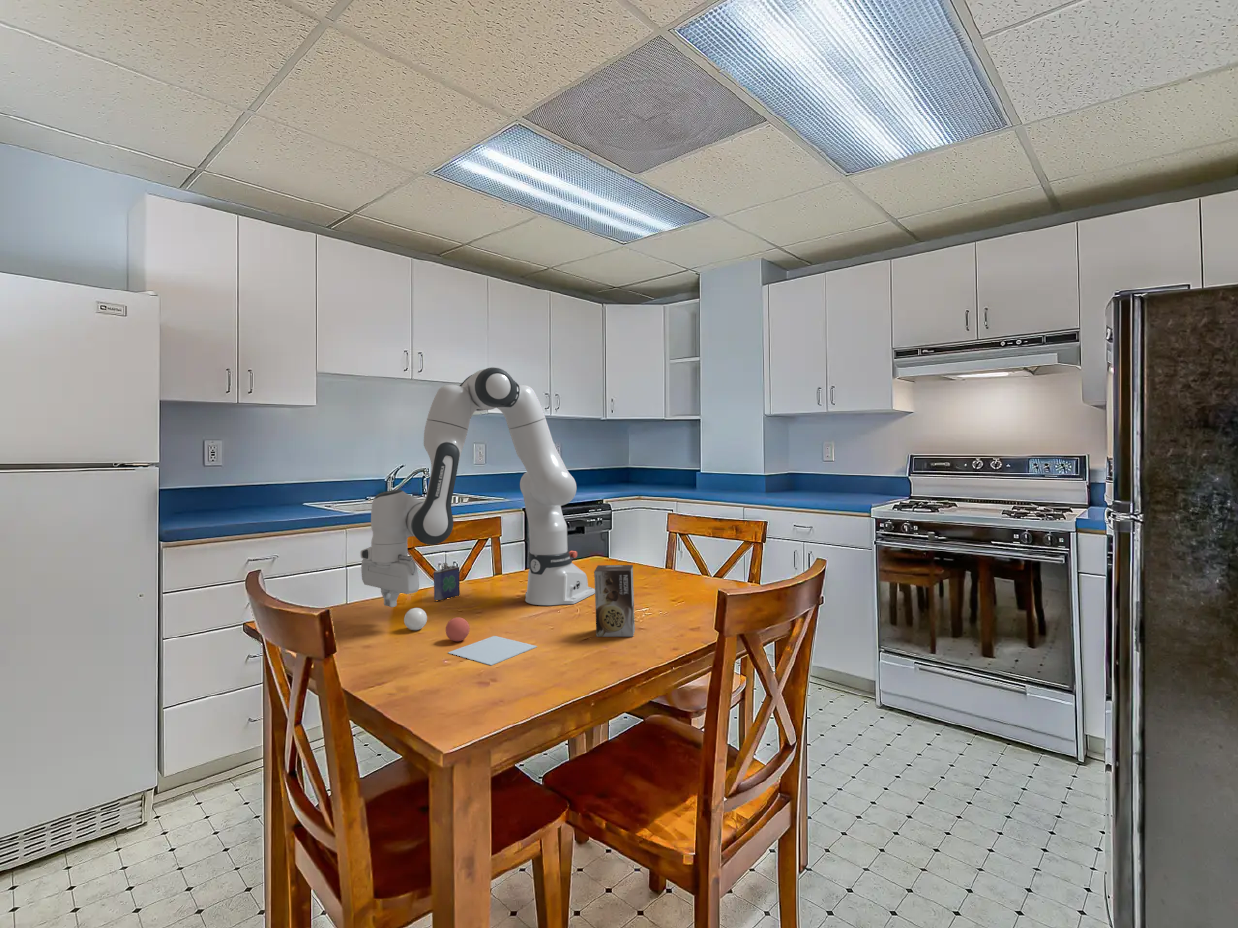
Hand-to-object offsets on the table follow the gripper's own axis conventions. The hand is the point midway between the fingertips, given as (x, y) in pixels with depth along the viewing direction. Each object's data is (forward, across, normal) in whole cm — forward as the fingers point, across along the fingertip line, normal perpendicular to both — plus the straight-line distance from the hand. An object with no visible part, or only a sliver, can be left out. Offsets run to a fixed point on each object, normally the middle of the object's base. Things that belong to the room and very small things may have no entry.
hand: (390, 605), depth 164 cm
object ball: (+2, -26, 0) cm, 26 cm away
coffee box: (+4, -54, -26) cm, 60 cm away
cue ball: (+2, -10, 0) cm, 10 cm away
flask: (+5, +9, -26) cm, 28 cm away
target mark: (+4, -38, -1) cm, 38 cm away
